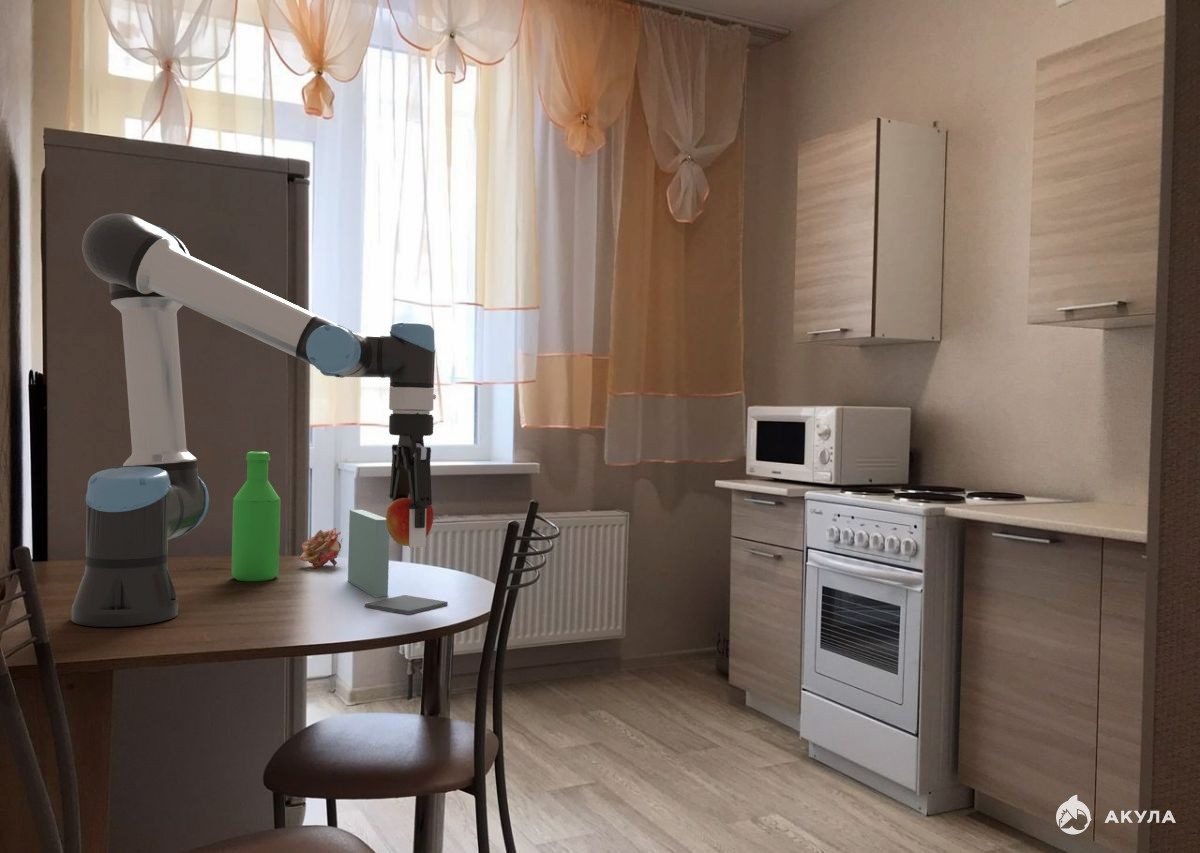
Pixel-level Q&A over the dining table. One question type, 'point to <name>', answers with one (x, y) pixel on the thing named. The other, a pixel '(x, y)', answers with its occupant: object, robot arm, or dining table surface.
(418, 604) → the coaster
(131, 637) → the dining table surface
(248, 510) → the bottle
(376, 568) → the grey-green flat block
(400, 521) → the apple
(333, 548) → the flower
